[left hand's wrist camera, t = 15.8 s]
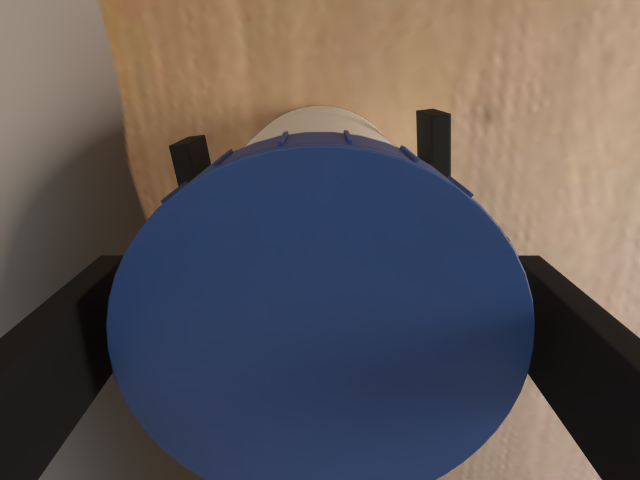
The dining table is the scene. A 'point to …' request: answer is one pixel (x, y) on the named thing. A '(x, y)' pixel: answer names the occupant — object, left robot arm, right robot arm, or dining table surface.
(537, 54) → the dining table surface
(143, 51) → the dining table surface
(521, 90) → the dining table surface
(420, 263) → the lid
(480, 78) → the dining table surface
